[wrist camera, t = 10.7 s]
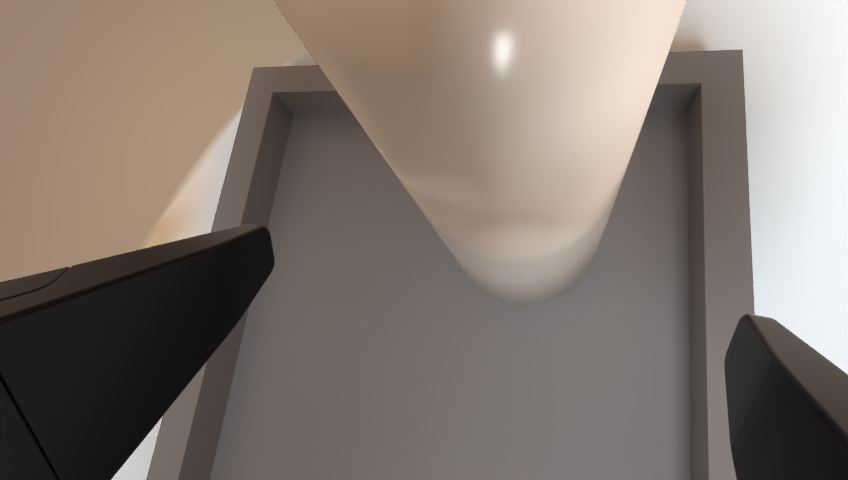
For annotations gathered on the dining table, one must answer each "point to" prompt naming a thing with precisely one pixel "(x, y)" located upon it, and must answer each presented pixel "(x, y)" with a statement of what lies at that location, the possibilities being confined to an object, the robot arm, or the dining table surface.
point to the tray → (472, 312)
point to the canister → (500, 117)
